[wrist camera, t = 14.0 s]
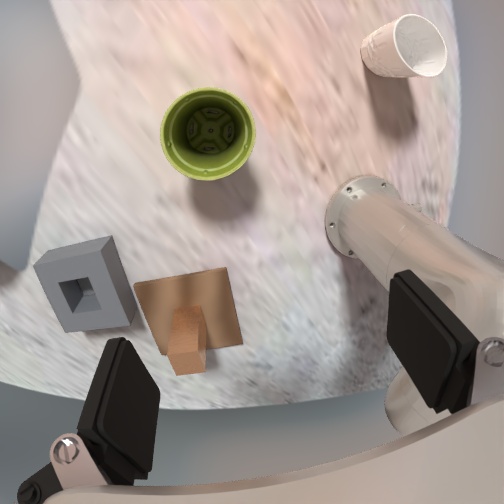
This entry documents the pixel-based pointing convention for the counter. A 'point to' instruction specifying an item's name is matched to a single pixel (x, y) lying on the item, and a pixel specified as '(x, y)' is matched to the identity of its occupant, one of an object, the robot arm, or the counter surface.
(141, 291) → the walnut mat
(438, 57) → the white cup
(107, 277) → the socket block
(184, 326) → the copper peg
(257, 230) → the counter surface
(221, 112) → the plant pot
